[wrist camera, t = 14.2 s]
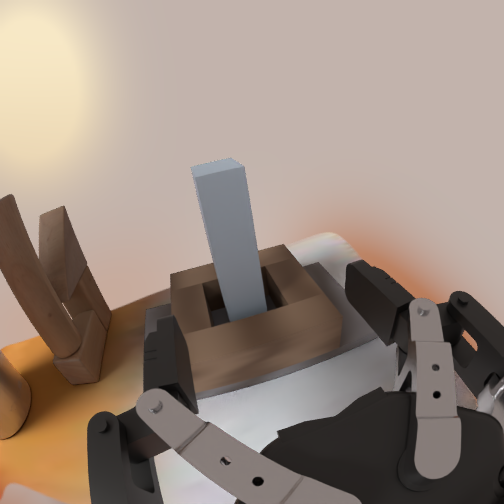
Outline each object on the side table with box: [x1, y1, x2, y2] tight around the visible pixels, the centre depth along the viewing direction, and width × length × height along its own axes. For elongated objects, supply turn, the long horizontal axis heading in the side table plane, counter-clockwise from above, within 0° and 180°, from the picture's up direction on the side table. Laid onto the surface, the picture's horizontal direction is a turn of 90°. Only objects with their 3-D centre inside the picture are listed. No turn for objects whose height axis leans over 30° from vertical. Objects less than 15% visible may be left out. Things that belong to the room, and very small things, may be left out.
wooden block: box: [0, 194, 111, 385], centre depth 20 cm, size 4×11×18 cm, turn 15°
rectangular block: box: [191, 158, 267, 322], centre depth 21 cm, size 3×4×14 cm
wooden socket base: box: [143, 244, 378, 400], centre depth 24 cm, size 20×12×4 cm, turn 106°
